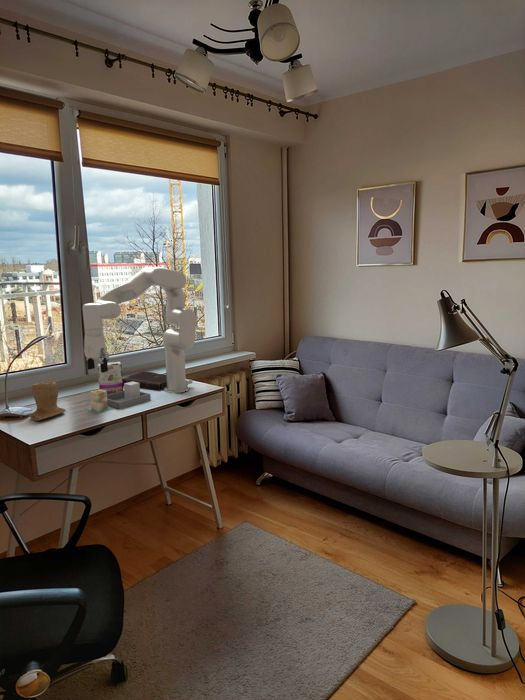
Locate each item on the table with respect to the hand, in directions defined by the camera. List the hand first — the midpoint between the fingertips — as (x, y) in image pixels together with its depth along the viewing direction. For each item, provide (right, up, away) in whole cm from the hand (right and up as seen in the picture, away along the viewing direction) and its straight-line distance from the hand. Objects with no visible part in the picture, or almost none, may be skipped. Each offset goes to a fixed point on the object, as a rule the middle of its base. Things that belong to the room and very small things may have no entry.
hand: (97, 370), depth 218 cm
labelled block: (0, -17, +3) cm, 17 cm away
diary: (+13, -10, +46) cm, 49 cm away
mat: (0, -18, +3) cm, 18 cm away
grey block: (+11, -15, +17) cm, 25 cm away
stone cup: (-21, -20, -5) cm, 29 cm away
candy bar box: (-2, -14, +25) cm, 29 cm away
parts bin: (+8, -16, +14) cm, 23 cm away
